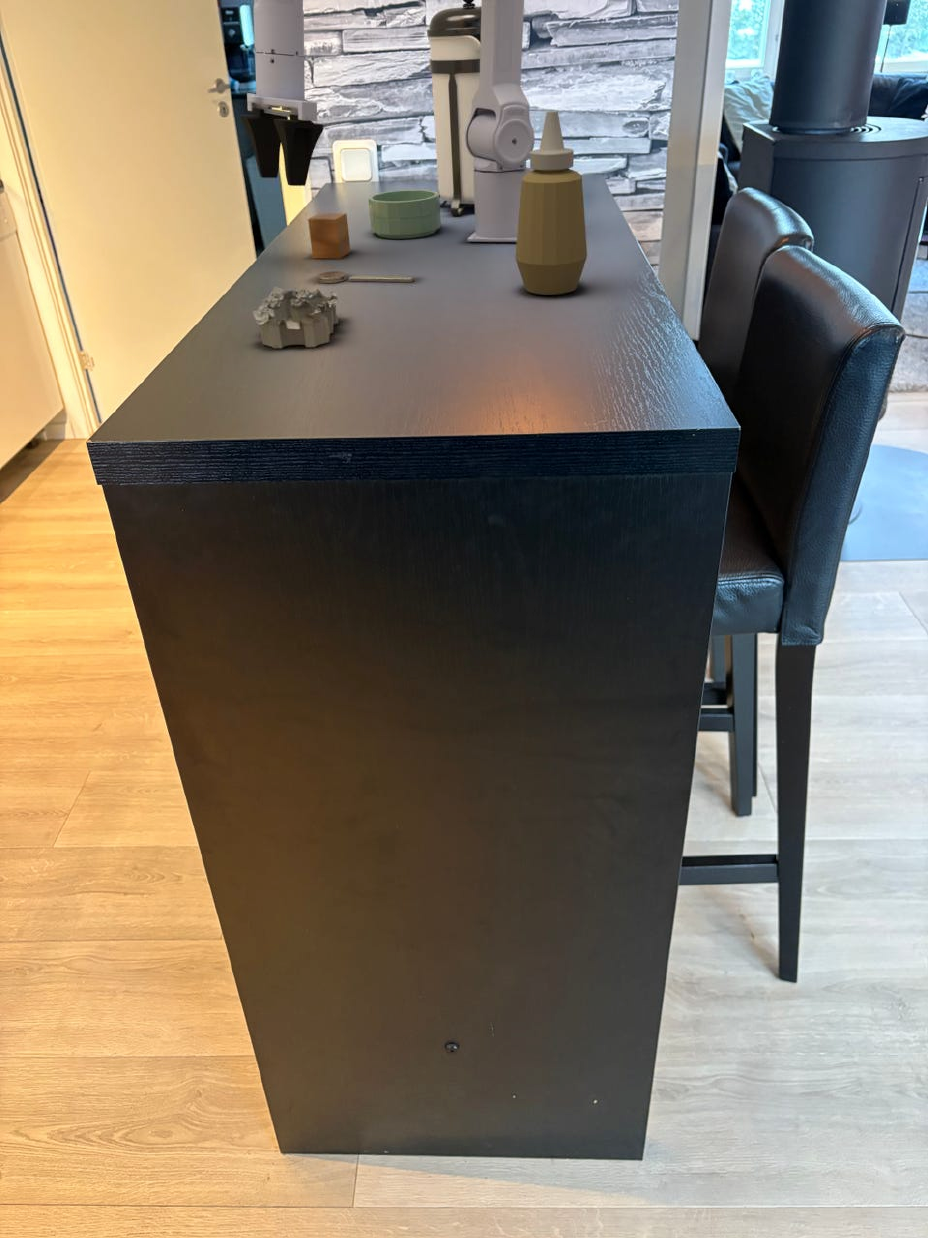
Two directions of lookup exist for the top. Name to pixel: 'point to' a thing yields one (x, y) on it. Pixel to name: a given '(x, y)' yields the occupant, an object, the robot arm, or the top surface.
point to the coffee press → (455, 98)
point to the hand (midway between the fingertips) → (282, 181)
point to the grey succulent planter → (296, 317)
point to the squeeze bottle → (551, 217)
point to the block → (329, 235)
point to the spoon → (359, 278)
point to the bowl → (405, 213)
